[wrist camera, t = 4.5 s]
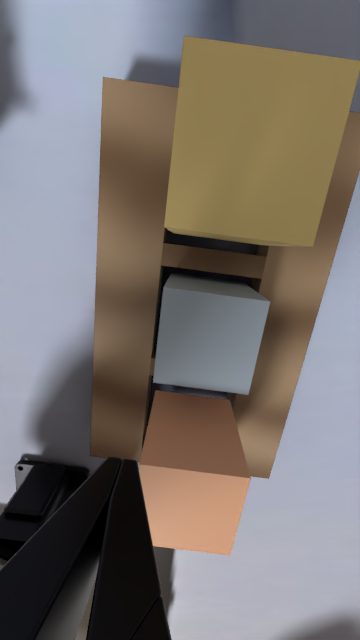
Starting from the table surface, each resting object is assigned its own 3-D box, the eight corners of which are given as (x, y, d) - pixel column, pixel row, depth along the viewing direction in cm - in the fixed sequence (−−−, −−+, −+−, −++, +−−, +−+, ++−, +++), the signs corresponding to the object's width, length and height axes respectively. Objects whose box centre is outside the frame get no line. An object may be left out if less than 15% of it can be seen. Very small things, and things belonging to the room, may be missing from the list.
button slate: (230, 349, 19) (248, 395, 13) (163, 340, 19) (152, 382, 13) (243, 282, 18) (270, 301, 12) (171, 272, 18) (163, 287, 12)
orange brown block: (217, 459, 19) (230, 555, 13) (148, 450, 19) (131, 543, 13) (229, 399, 17) (250, 478, 11) (155, 390, 17) (139, 464, 11)
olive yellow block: (262, 245, 14) (312, 246, 9) (173, 233, 14) (164, 226, 9) (284, 142, 13) (362, 60, 7) (185, 128, 13) (183, 35, 7)
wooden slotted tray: (260, 454, 22) (268, 478, 20) (100, 433, 22) (90, 455, 20) (347, 134, 15) (375, 114, 13) (115, 101, 15) (103, 77, 13)
